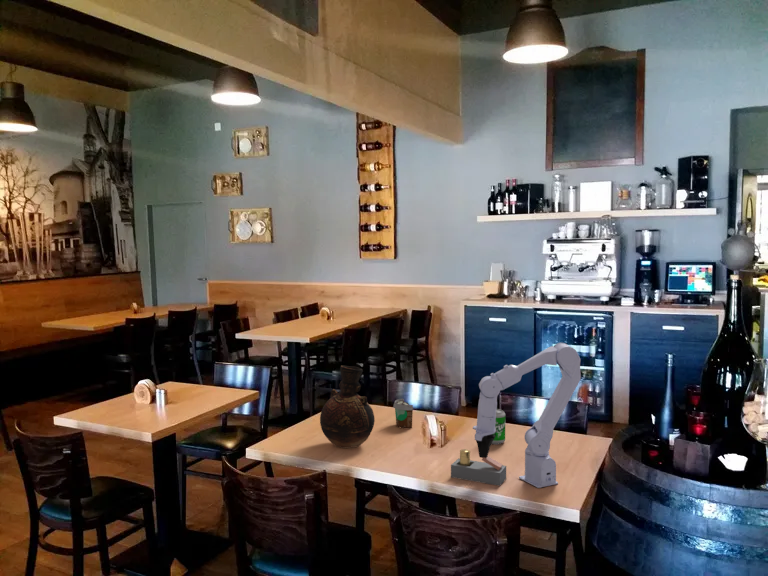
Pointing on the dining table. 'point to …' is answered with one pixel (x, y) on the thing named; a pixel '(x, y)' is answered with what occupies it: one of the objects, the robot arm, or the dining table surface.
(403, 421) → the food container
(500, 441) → the soda can
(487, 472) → the block
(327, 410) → the ceramic vessel
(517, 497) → the dining table surface
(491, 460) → the bar
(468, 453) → the brass pin
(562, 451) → the dining table surface
